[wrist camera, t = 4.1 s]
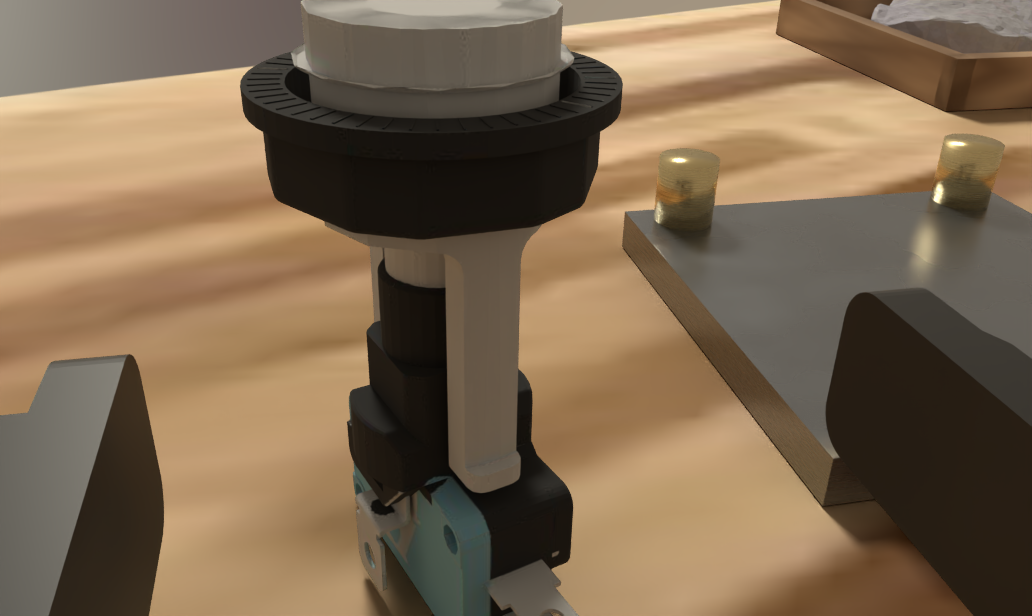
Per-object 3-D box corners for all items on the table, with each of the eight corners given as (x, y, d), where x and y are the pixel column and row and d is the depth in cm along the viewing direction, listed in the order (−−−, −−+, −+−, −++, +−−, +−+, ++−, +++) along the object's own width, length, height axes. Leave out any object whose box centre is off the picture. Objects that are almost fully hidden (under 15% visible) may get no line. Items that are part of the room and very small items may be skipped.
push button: (693, 646, 16) (786, 41, 11) (403, 792, 13) (361, 96, 8) (498, 439, 21) (504, -35, 16) (263, 518, 18) (187, -15, 13)
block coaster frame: (945, 111, 45) (958, 59, 44) (776, 33, 60) (781, -7, 59) (1218, 98, 48) (1237, 49, 47) (991, 27, 63) (1000, -11, 62)
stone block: (1044, 84, 59) (890, 32, 62) (1084, 9, 56) (921, -41, 59) (1020, 138, 50) (843, 74, 53) (1066, 52, 47) (876, -10, 50)
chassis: (822, 506, 19) (852, 372, 17) (622, 246, 30) (629, 150, 28) (1335, 434, 21) (1400, 313, 20) (974, 220, 33) (999, 131, 31)
